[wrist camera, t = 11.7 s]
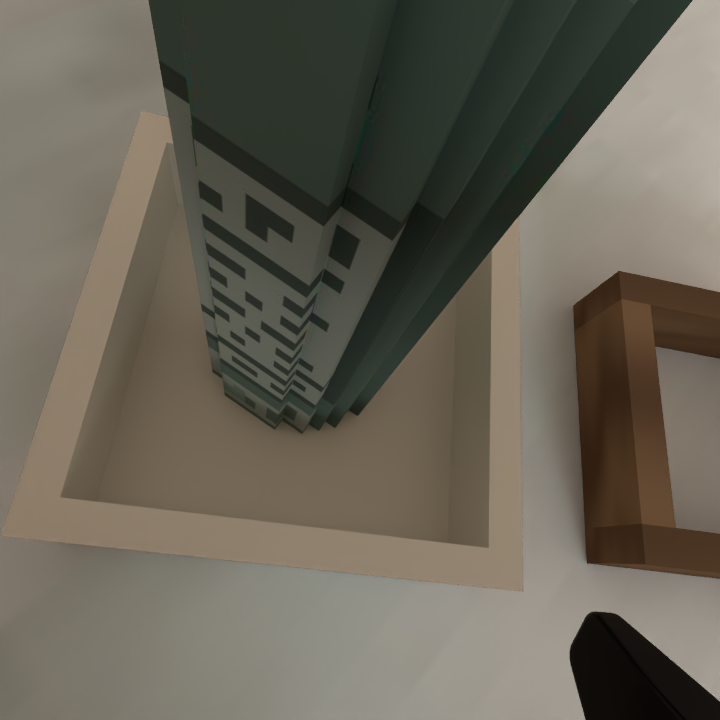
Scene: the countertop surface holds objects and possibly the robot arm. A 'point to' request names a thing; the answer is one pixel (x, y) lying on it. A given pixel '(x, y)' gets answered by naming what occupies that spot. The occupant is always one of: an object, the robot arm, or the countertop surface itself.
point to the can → (368, 167)
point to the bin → (258, 440)
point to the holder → (637, 421)
